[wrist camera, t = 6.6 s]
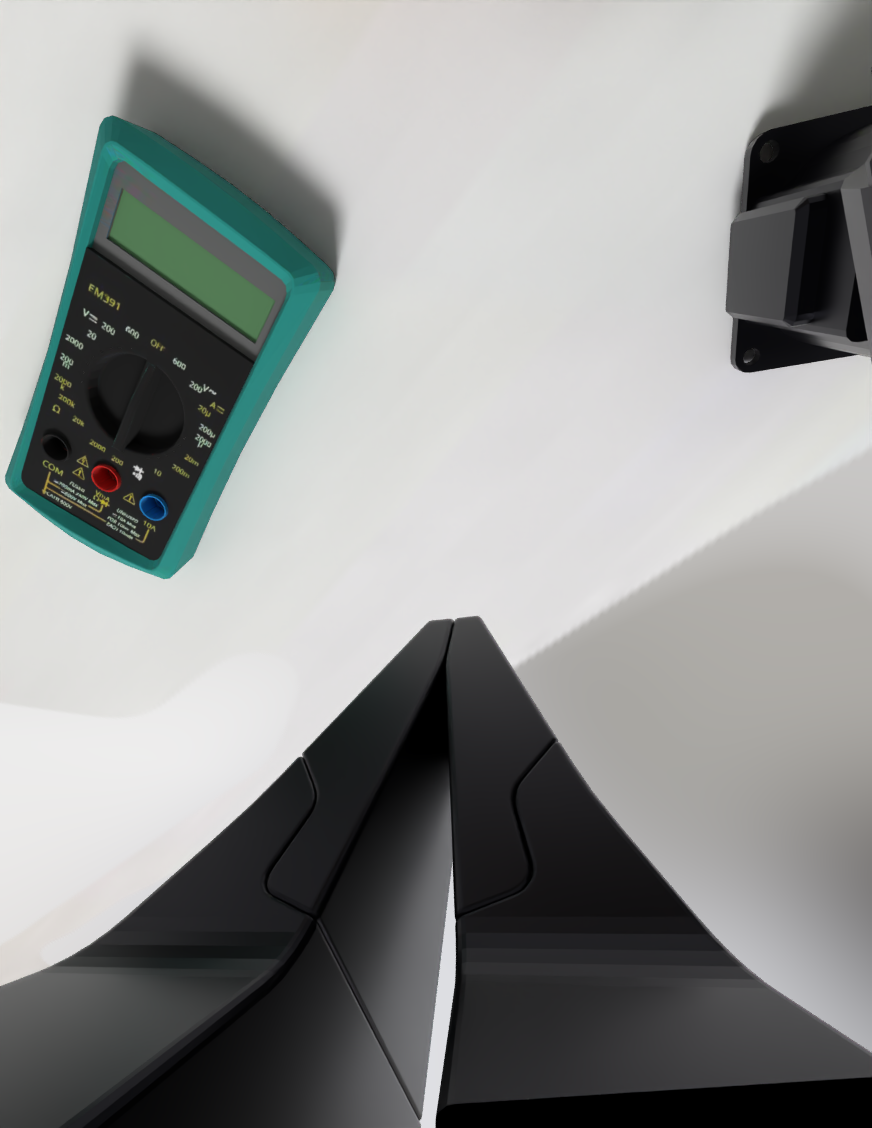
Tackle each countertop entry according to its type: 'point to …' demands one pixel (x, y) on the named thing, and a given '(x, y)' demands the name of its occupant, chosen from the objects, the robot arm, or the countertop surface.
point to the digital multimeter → (160, 351)
